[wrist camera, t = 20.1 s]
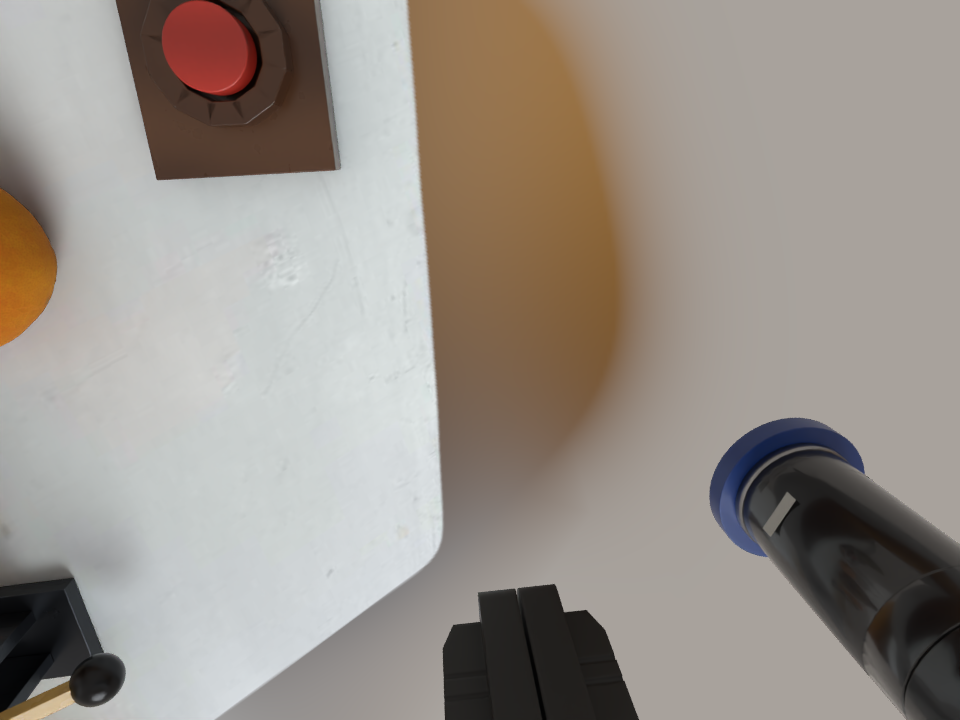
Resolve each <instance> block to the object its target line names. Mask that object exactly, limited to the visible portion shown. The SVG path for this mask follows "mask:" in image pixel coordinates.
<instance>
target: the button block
mask: <svg viewBox="0 0 960 720" xmlns="http://www.w3.org/2000/svg"><path fill="white" fill-rule="evenodd" d="M187 1H191V0H116V4H117V8H118V13H119V17H120V21H121V26H122V30H123V34H124V39H125V43H126V47H127V52H128V56H129V61H130V65H131V69H132V74H133V78H134V82H135V87H136V91H137V96H138V100H139V104H140V109H141V113H142V117H143V122H144V126H145V131H146V135H147V139H148V144H149V148H150V152H151V157H152V161H153V166H154V170H155V174H156V179H157V180H171V179H189V178H207V177H226V176H244V175H262V174H280V173H298V172H316V171H334V170H340V169H341V165H340V157H339V149H338V141H337V133H336V125H335V117H334V109H333V101H332V93H331V85H330V77H329V69H328V61H327V53H326V46H325V38H324V30H323V22H322V14H321V6H320V0H204V1H209V2H212V3H215V4H217V5H219V6H221V7H222V8H224V9H225V10H227V11H228V12H229V13H231V14H232V15H234V16H235V17H236V18H237V19H239V20H240V21H241V22H242V23H243V24H244V25H245V27H246V28H247V29H248V31H249V32H250V34H251V36H252V38H253V40H254V43H255V47H256V51H257V66H256V70H255V74H254V76H253V78H252V80H251V81H250V83H249V84H248V85H247V86H246V87H245V88H244V89H243V90H241V91H239V92H237V93H235V94H232V95H227V96H218V95H213V94H209V93H206V92H202V91H199V90H196V89H194V88H192V87H190V86H188V85H187V84H185V83H184V82H183V81H181V80H180V79H179V78H178V77H177V76H176V75H175V73H174V72H173V71H172V69H171V68H170V66H169V64H168V62H167V60H166V58H165V55H164V52H163V47H162V30H163V26H164V23H165V21H166V19H167V17H168V15H169V14H170V13H171V12H172V10H174V9H175V8H176V7H177V6H179V5H180V4H182V3H184V2H187Z"/></svg>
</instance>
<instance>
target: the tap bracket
mask: <svg viewBox="0 0 960 720" xmlns="http://www.w3.org/2000/svg"><path fill="white" fill-rule="evenodd" d="M99 653H103V651H102V648H101V646H100V643H99V641H98V638H97V636H96V633H95V631H94V628H93V626H92V623H91V621H90V618H89V616H88V613H87V611H86V608H85V606H84V603H83V601H82V598H81V596H80V593H79V591H78V588H77V585H76V583H75V580H74V578H71V579H63V580H55V581H47V582H39V583H31V584H23V585H15V586H7V587H0V713H1V712H3V711H5V710H7V709H9V708H11V707H14V706H16V705H18V704H20V703H22V702H24V701H26V700H27V698H28V697H29V696H30V694H31V693H32V692H33V690H34V689H35V688H36V686H37V685H38V684H39V682H40V681H41V680H42V679H49V678H57V677H64V676H71V675H72V673H73V672H74V670H75V669H76V667H77V666H78V665H79V664H80V663H81V662H82V661H84V660H85V659H87V658H88V657H90V656H92V655H95V654H99Z"/></svg>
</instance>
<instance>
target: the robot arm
mask: <svg viewBox="0 0 960 720" xmlns="http://www.w3.org/2000/svg"><path fill="white" fill-rule="evenodd" d="M735 508H736V515H737V519H738V522H739V524H740V526H741V527H742V529H743V530H744V531H745V532H746V534H747V535H748V536H749V537H750V538H751V539H752V540H753V541H754V542H755V543H757V544H758V546H759V547H760V548H761V549H762V550H763V552H764V553H765V554H766V555H767V556H768V558H769V559H770V560H771V561H772V563H773V564H774V565H775V566H776V567H777V568H778V570H779V571H780V572H781V573H782V574H783V575H784V577H785V578H786V579H787V580H788V581H789V583H790V584H791V585H792V586H793V587H794V588H795V590H796V591H797V592H798V593H799V594H800V596H801V597H802V598H803V599H804V600H805V601H806V603H807V604H808V605H809V606H810V607H811V608H812V610H813V611H814V612H815V613H816V614H817V616H818V617H819V618H820V619H821V620H822V621H823V623H824V624H825V625H826V626H827V627H828V628H829V630H830V631H831V632H832V633H833V634H834V636H835V637H836V638H837V639H838V640H839V641H840V643H841V644H842V645H843V646H844V647H845V649H846V650H847V651H848V652H849V653H850V654H851V656H852V657H853V658H854V659H855V660H856V661H857V663H858V664H859V665H860V666H861V667H862V668H863V669H864V671H865V672H866V673H867V674H868V675H869V676H870V677H871V679H872V680H873V681H874V682H875V683H876V685H877V686H878V687H879V688H880V689H881V690H882V692H883V693H884V694H885V695H886V696H887V698H888V699H889V700H890V701H891V702H892V703H893V705H894V706H895V707H896V708H897V709H898V710H899V712H900V713H901V714H902V715H903V716H904V718H905V719H906V720H960V544H959V543H957V542H956V541H954V540H953V539H952V538H950V537H949V536H948V535H946V534H945V533H944V532H942V531H941V530H940V529H938V528H937V527H935V526H934V525H933V524H931V523H930V522H929V521H927V520H926V519H924V518H923V517H922V516H920V515H919V514H918V513H916V512H915V511H913V510H912V509H911V508H909V507H908V506H907V505H905V504H904V503H903V502H901V501H900V500H898V499H897V498H896V497H894V496H893V495H891V494H890V493H889V492H888V491H886V490H885V489H883V488H882V487H881V486H879V485H878V484H876V483H875V482H874V481H873V480H871V479H870V478H869V477H867V476H866V475H865V474H863V473H862V472H860V471H859V470H858V469H856V468H855V467H854V466H852V465H851V464H849V462H848V461H847V460H846V459H845V458H843V457H842V456H841V455H839V454H838V453H837V452H835V451H834V450H832V449H831V448H828V447H826V446H824V445H820V444H816V443H797V444H792V445H788V446H785V447H782V448H780V449H777V450H775V451H773V452H771V453H770V454H768V455H766V456H765V457H764V458H762V459H761V460H760V461H759V462H757V463H756V464H755V465H754V466H753V467H752V468H751V470H750V471H749V472H748V473H747V475H746V476H745V478H744V479H743V481H742V483H741V485H740V487H739V490H738V493H737V497H736V506H735ZM478 602H479V616H480V622H476V623H467V624H457V625H453V627H452V629H451V631H450V633H449V636H448V638H447V640H446V642H445V645H444V647H443V672H444V699H445V720H639V719H638V716H637V713H636V711H635V708H634V706H633V703H632V700H631V697H630V695H629V692H628V689H627V687H626V684H625V681H623V678H622V674H621V671H620V668H619V666H618V663H617V660H615V656H614V652H613V650H612V647H611V645H610V642H609V639H608V636H607V634H606V631H605V630H604V628H603V627H602V626H601V625H600V624H599V623H598V622H597V621H596V620H595V619H594V618H593V617H592V616H591V615H590V613H588V611H587V610H583V611H573V612H564V611H563V607H562V604H561V601H560V597H559V594H558V591H557V588H556V586H555V584H552V585H543V586H533V587H524V588H518V589H517V594H516V590H515V589H507V590H497V591H488V592H479V593H478Z"/></svg>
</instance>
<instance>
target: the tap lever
mask: <svg viewBox="0 0 960 720" xmlns="http://www.w3.org/2000/svg"><path fill="white" fill-rule="evenodd" d="M125 675H126V671H125V666H124V663H123V662H122V660H121V659H120V658H119V657H117V656H116V655H114V654H110V653H99V654H95V655H92V656H90V657H88V658H87V659H85V660H84V661H82V662H81V663H80V664H79V665H78V666H77V667H76V669H75V670H74V672H73V673H72V675H71V678H70V681H68V682H65V683H63V684H61V685H59V686H57V687H55V688H52V689H50V690H48V691H46V692H44V693H42V694H39V695H37V696H35V697H33V698H31V699H29V700H27V701H24V702H22V703H20V704H18V705H16V706H14V707H11V708H9V709H7V710H5V711H3V712H1V713H0V720H40V719H42V718H44V717H46V716H48V715H50V714H52V713H54V712H57V711H59V710H61V709H63V708H65V707H67V706H69V705H71V704H73V703H75V702H76V703H77V704H79V705H81V706H84V707H95V706H99V705H102V704H104V703H106V702H108V701H109V700H111V699H112V698H113V697H114V696H115V695H116V694H117V693H118V692H119V690H120V689H121V687H122V685H123V683H124V680H125Z"/></svg>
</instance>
